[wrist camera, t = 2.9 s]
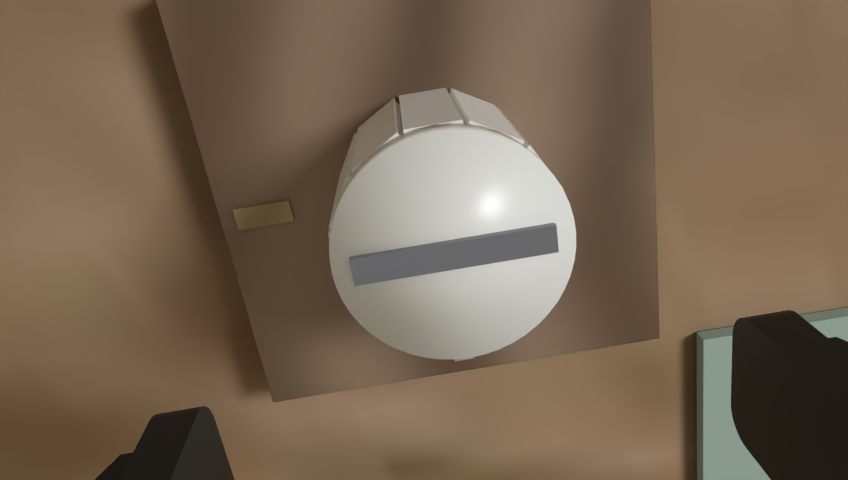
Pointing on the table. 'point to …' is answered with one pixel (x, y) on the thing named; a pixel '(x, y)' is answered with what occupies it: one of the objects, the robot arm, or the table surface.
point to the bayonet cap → (448, 228)
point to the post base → (386, 79)
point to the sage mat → (716, 433)
